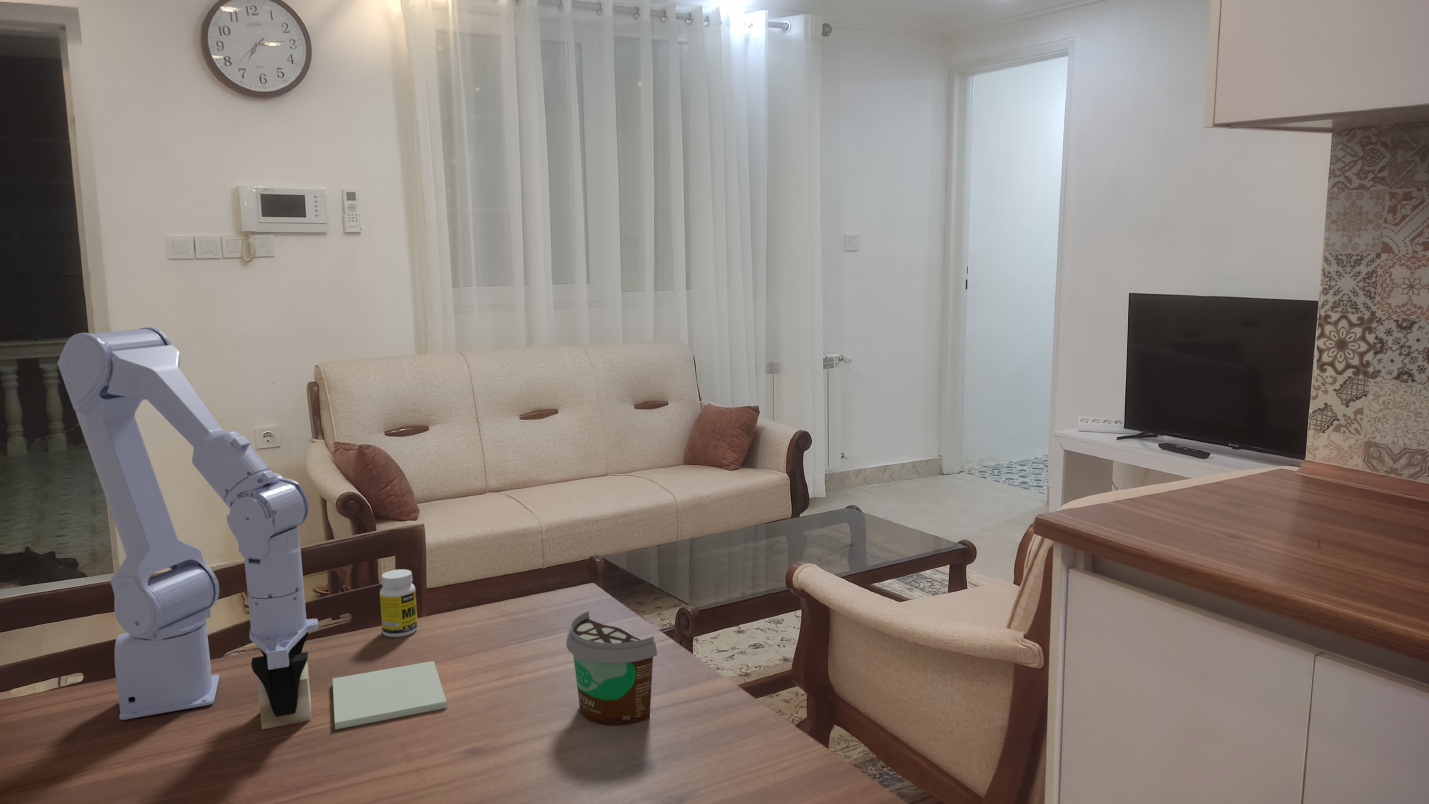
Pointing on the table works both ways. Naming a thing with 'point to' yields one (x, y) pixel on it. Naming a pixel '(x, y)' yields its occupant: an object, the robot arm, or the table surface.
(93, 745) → the table surface
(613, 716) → the food container
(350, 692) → the tile
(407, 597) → the supplement bottle
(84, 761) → the table surface
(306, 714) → the cube
